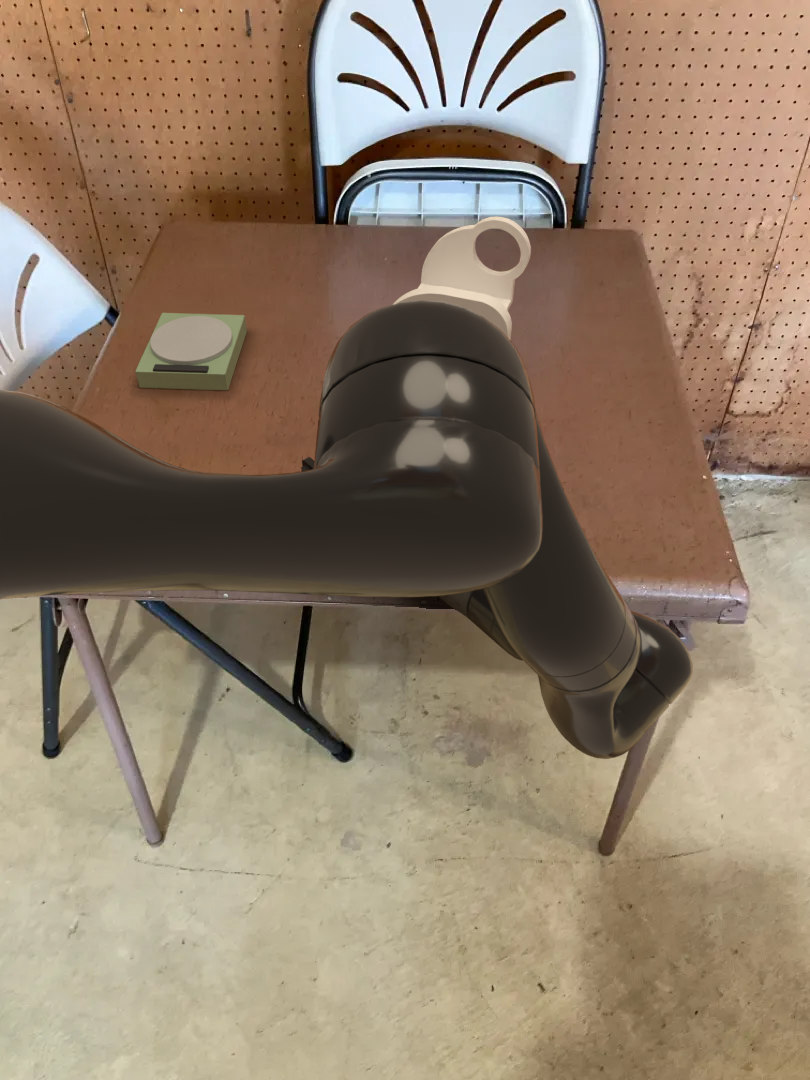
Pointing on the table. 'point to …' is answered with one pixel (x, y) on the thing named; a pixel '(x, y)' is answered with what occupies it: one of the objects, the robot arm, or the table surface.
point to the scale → (192, 352)
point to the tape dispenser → (471, 273)
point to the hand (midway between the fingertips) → (336, 450)
